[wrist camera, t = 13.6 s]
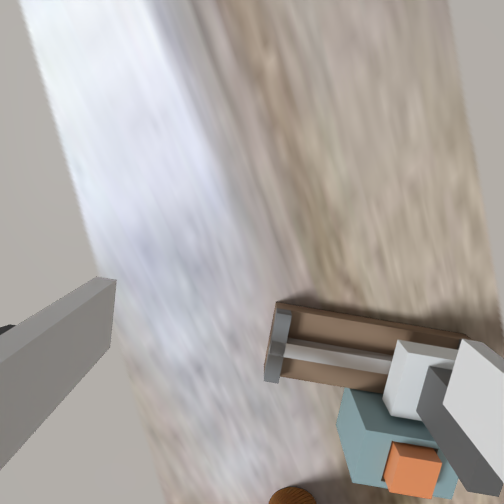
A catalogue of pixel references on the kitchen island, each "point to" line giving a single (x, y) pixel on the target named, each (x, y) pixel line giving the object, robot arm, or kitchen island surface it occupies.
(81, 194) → the kitchen island surface
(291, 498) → the disposable coffee cup
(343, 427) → the cabinet
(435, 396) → the carriage
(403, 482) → the button
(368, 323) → the rail board
